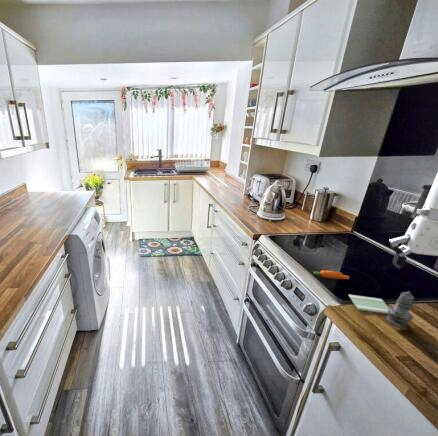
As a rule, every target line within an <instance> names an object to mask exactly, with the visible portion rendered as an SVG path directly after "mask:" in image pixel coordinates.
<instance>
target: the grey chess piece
mask: <svg viewBox="0 0 438 436" xmlns="http://www.w3.org/2000/svg"><path fill="white" fill-rule="evenodd" d="M414 300H415V297H414V295H413V294H411V291H410V290H409V291H404V292H403V291H402V292H401V293H400V295H399V297H398V298H397V299H396V300H395V302H396V303H395V305H392V306H391V305H389V306H388V308H387V310H388V314H386V315H385V316H384V318H385V320H386V321H387V323H390V324H392V325H393V326H395V327H397V328H403V329H407V328H408V327H409V324H408V322H410V321H411V320H414V315H413V314H412V313H411V312H410V309H411V308H413V302H414Z"/></svg>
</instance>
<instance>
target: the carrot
mask: <svg viewBox="0 0 438 436" xmlns="http://www.w3.org/2000/svg"><path fill="white" fill-rule="evenodd" d="M312 273H313V275H315V276H316V275H317V276H321V277H322V278H324V279H332V280H350V276H349V275H347V274H346V275H345V274H343V272H340V271H335V270H334V271H333V270H325V269H323V270H321V271H315V270H313V271H312Z"/></svg>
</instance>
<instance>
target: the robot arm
mask: <svg viewBox="0 0 438 436" xmlns="http://www.w3.org/2000/svg"><path fill="white" fill-rule="evenodd" d="M415 214H417V215H416V217H415V218H414V219H413V220H412V222H411V223H410V225H409V226H408V228H407V230H406V232H405V234H404V235H402V236H398V237H394V238H390V239H389V240H388V241H389V244H390V248H391V249H392V250H393V252H394V253H395V255H394V257H393V259H392V265H394V266H395V267H396V268H397V269H399V270H402V269H403V268H404V266H405V263H406V261H407V257H406V256H408V255H410V254H411V253H412V254H416V255H425V256H434V257H438V172H437V173H436V175H435V177H434V180H433V183H432V185H431V187H430V189H429V192H428V194H427V197H426V199H425V201H424V204H423V206H422V208H417V209H416V213H415ZM399 244H401V245H400V246H399ZM433 268H434V270H436V271H437V272H438V258H437V259H436V261H435V263H434V265H433Z"/></svg>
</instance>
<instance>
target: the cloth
mask: <svg viewBox="0 0 438 436" xmlns="http://www.w3.org/2000/svg"><path fill="white" fill-rule="evenodd" d="M348 297H349V299H350V301H352V303H353V305H354V306H355V307H356V309H357V310H358V311H363V312H370V313H376V314H382V315H389V314H388V310H387V308H388V307H389V306H388V305H387V303H386V302H385V301H384V300H383V299H382V298H379V297H370V296H365V295H356V294H350V293H348Z"/></svg>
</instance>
